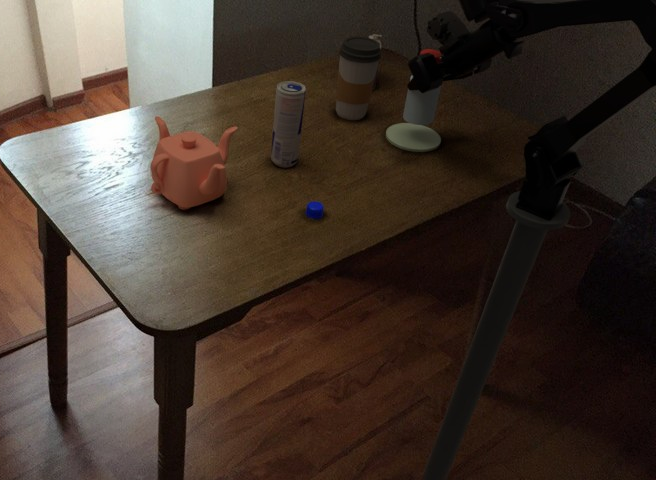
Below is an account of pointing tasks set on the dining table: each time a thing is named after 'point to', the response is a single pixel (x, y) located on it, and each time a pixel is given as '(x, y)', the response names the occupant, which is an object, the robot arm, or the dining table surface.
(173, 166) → the teapot
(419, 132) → the coaster
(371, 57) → the coffee cup
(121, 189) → the dining table surface
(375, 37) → the flask
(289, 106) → the beverage can
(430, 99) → the bottle
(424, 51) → the cap
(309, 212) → the bottle cap
